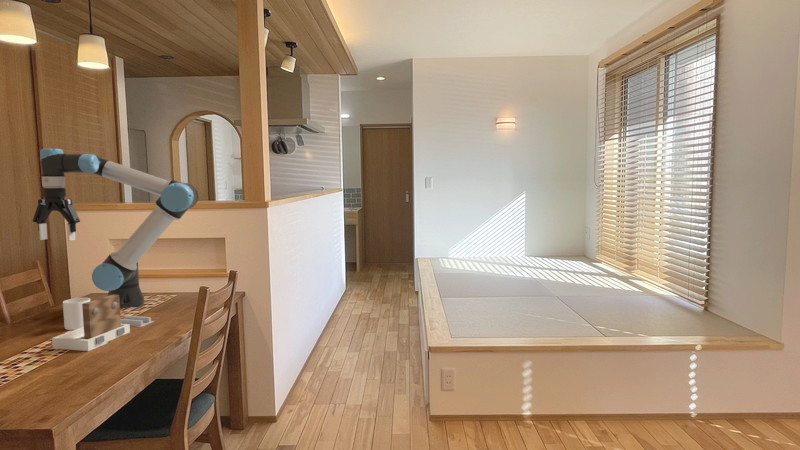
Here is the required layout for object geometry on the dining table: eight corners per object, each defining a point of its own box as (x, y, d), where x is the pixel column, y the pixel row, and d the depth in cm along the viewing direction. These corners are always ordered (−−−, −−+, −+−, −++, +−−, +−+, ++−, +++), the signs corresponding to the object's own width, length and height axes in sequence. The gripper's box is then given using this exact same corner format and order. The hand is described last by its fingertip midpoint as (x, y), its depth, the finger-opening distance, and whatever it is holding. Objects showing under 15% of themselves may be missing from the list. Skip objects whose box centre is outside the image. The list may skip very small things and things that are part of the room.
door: (115, 332, 170) (113, 294, 169) (122, 332, 170) (119, 294, 168) (84, 344, 157) (82, 303, 156) (92, 345, 157) (89, 304, 156)
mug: (97, 329, 177) (95, 301, 176) (60, 332, 174) (58, 303, 173) (105, 323, 185) (103, 296, 184) (70, 325, 182) (68, 298, 181)
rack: (126, 320, 188) (125, 314, 187) (154, 322, 185) (154, 316, 185) (112, 326, 181) (112, 320, 181) (141, 328, 178) (141, 321, 178)
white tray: (97, 331, 175) (96, 322, 174) (131, 333, 172) (130, 324, 171) (52, 348, 157) (52, 338, 157) (89, 351, 154) (89, 340, 154)
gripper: (19, 187, 188) (23, 240, 190) (72, 187, 183) (75, 241, 185) (37, 187, 195) (40, 238, 197) (88, 187, 190) (91, 239, 192)
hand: (57, 240), depth 191 cm, fingers open, 13 cm apart
